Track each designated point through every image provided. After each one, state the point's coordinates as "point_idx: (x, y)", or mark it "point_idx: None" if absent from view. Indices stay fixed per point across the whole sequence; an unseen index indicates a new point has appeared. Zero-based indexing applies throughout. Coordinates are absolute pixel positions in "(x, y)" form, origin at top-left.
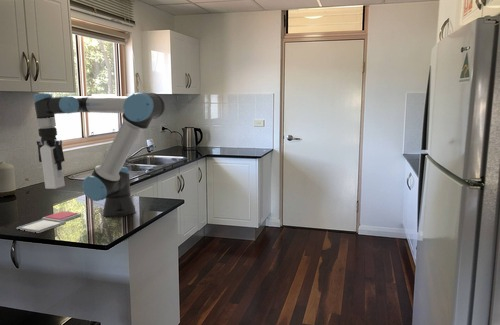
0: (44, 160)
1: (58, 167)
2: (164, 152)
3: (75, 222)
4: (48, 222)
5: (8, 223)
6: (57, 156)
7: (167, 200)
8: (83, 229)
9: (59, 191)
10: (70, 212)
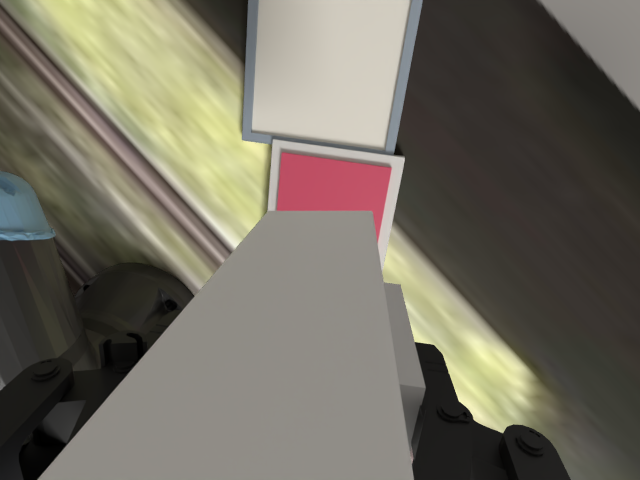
0: (317, 361)
1: (165, 329)
2: None
3: (215, 165)
4: (326, 117)
5: (561, 60)
6: (5, 441)
7: None
8: (98, 83)
9: None
10: None
